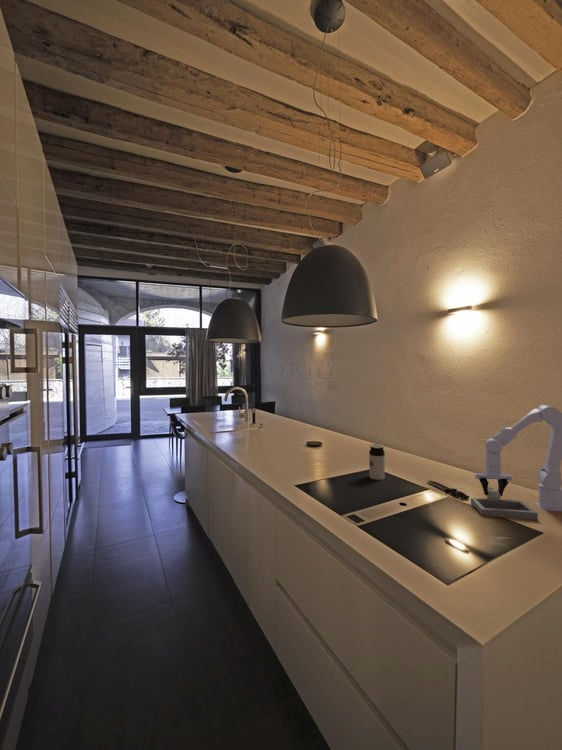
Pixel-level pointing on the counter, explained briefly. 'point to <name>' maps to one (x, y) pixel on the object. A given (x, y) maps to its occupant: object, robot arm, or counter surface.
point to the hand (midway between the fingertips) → (493, 494)
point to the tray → (504, 508)
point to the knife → (453, 491)
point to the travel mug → (376, 462)
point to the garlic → (493, 494)
